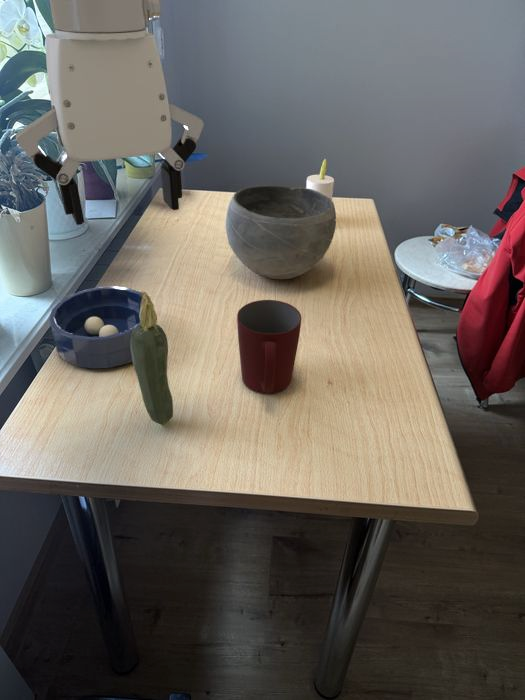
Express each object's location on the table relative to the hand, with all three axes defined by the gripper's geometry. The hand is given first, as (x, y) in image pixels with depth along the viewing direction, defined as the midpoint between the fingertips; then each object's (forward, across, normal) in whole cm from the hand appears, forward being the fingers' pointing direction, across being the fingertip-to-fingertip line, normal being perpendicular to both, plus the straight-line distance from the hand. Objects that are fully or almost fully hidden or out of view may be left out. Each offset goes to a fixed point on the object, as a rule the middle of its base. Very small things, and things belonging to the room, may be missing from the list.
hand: (126, 212), depth 54 cm
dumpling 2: (+27, +1, -19) cm, 33 cm away
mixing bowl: (+29, +2, -21) cm, 36 cm away
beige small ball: (+27, +3, -23) cm, 35 cm away
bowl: (+30, -36, -32) cm, 56 cm away
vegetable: (+30, 0, +2) cm, 30 cm away
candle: (+30, -56, -51) cm, 81 cm away
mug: (+30, -17, 0) cm, 34 cm away
